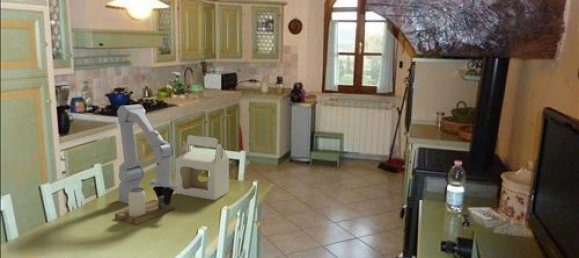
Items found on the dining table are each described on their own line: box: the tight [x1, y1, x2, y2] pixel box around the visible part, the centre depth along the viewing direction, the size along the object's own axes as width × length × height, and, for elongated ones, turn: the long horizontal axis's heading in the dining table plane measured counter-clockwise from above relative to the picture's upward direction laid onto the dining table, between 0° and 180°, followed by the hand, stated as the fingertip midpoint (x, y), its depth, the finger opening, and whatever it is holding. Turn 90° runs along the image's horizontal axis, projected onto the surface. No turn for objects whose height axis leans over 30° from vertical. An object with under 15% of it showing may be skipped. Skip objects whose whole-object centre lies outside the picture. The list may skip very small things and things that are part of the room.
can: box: [128, 187, 146, 217], centre depth 183 cm, size 6×6×12 cm
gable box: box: [175, 134, 230, 201], centre depth 215 cm, size 22×13×28 cm, turn 68°
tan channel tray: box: [114, 195, 176, 226], centre depth 188 cm, size 12×21×7 cm, turn 150°
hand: (164, 203), depth 190 cm, fingers open, 3 cm apart
